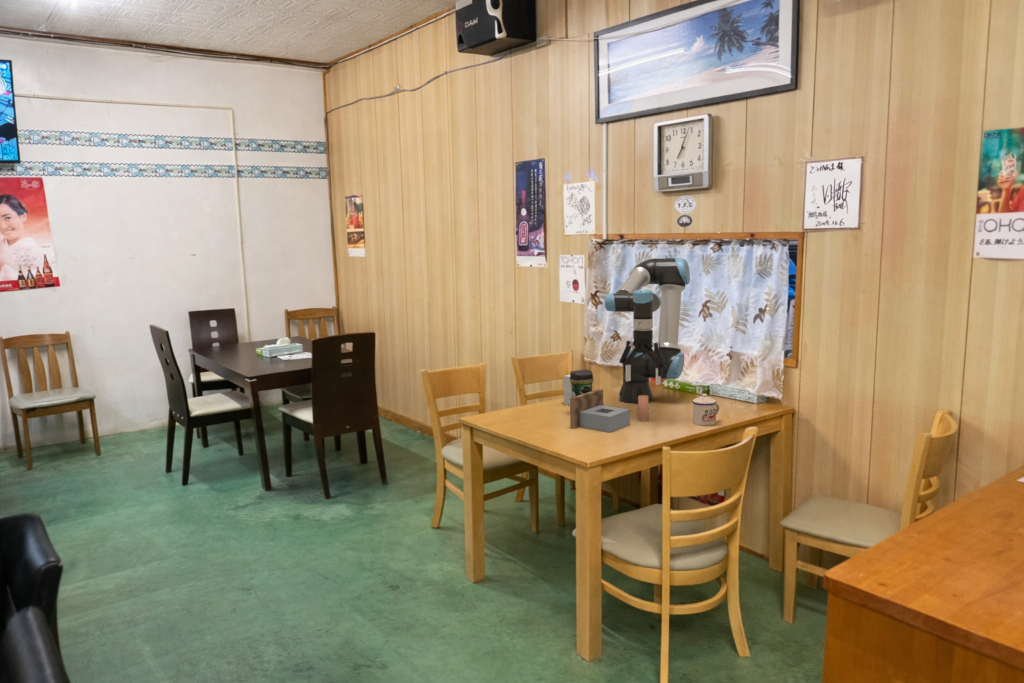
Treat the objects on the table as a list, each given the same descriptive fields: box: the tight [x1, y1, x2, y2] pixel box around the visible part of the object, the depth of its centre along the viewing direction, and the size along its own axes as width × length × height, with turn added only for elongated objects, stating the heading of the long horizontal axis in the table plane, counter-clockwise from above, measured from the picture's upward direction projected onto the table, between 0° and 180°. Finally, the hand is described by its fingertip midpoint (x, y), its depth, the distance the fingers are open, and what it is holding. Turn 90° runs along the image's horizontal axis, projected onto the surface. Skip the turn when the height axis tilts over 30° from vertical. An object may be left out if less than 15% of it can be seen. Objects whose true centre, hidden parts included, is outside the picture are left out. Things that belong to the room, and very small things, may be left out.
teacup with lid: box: [692, 393, 720, 427], centre depth 280 cm, size 12×9×12 cm
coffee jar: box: [569, 369, 594, 398], centre depth 300 cm, size 10×8×19 cm
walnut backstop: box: [569, 388, 604, 429], centre depth 285 cm, size 20×2×12 cm, turn 139°
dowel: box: [637, 395, 649, 423], centre depth 287 cm, size 4×4×10 cm
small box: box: [562, 374, 572, 407], centre depth 319 cm, size 8×6×13 cm
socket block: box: [579, 405, 631, 433], centre depth 280 cm, size 14×14×6 cm
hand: (643, 382), depth 285 cm, fingers open, 13 cm apart
